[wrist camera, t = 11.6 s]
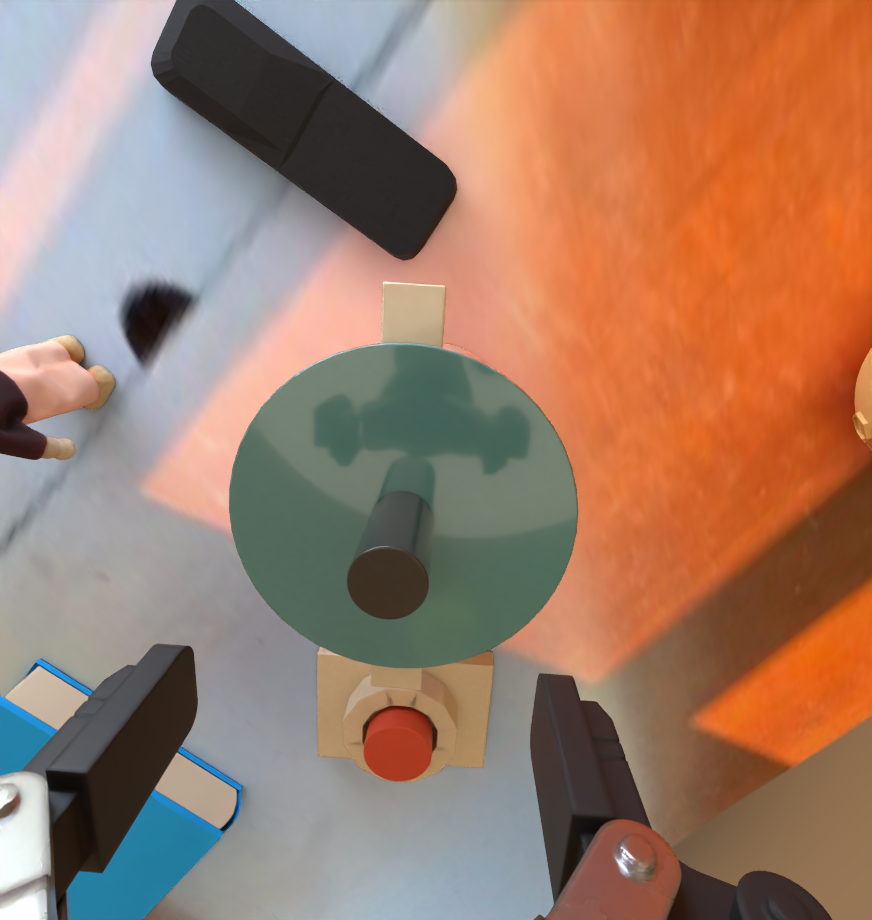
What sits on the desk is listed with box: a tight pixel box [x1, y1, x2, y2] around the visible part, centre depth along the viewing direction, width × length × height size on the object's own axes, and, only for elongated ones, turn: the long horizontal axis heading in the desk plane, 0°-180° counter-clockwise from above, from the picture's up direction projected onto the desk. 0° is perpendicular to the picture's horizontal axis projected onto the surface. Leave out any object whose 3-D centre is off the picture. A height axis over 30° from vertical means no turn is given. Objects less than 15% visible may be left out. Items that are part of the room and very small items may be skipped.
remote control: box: [151, 0, 457, 260], centre depth 26 cm, size 5×2×15 cm
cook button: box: [363, 706, 433, 781], centre depth 33 cm, size 4×4×2 cm
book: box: [0, 659, 242, 920], centre depth 39 cm, size 17×4×25 cm
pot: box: [371, 282, 493, 690], centre depth 27 cm, size 13×18×10 cm
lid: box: [229, 342, 578, 668], centre depth 20 cm, size 14×14×6 cm
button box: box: [317, 646, 494, 782], centre depth 35 cm, size 11×8×4 cm
